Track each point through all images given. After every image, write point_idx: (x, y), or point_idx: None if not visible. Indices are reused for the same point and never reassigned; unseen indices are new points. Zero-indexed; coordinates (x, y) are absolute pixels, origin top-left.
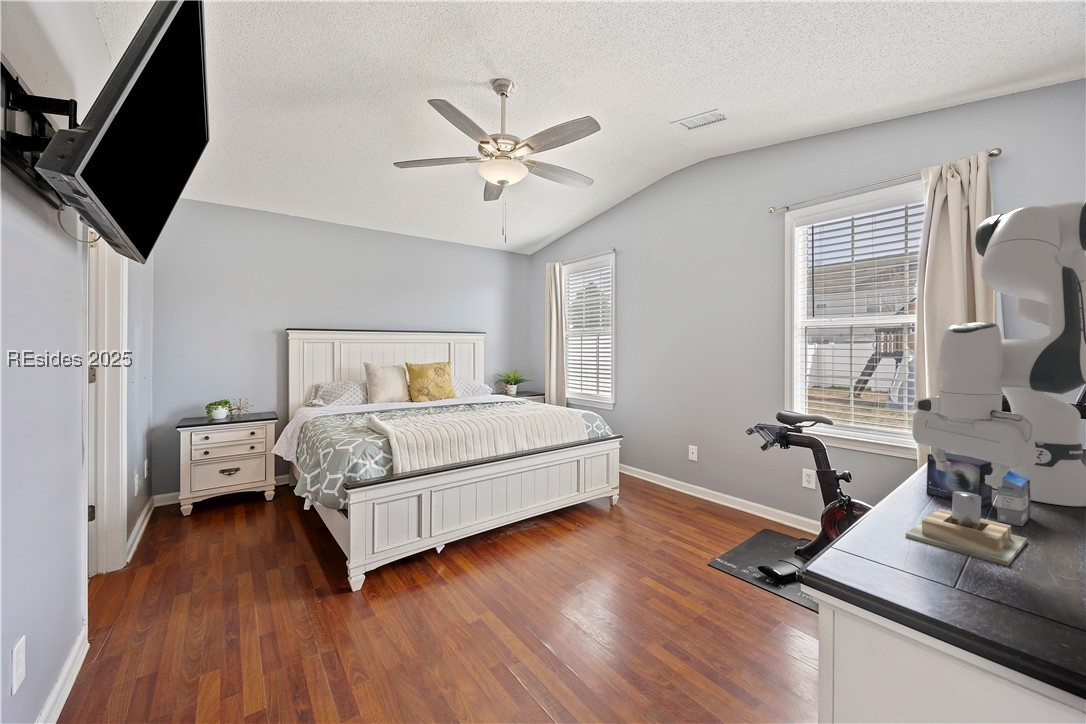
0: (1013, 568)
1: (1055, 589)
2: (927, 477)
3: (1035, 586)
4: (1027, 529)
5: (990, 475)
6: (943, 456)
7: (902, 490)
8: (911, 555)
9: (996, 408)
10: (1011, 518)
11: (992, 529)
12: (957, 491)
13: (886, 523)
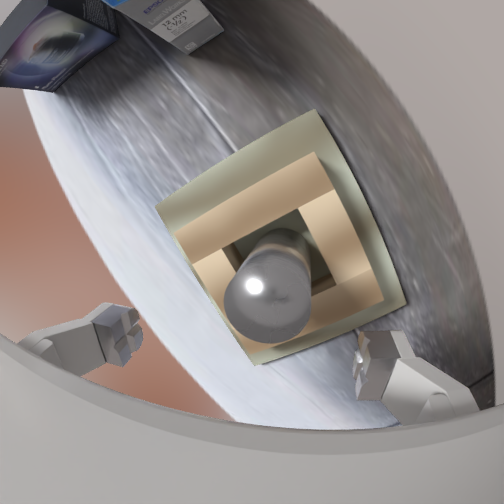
0: (411, 297)
1: (467, 306)
2: (26, 88)
3: (452, 326)
4: (239, 33)
5: (385, 405)
6: (69, 338)
7: (36, 127)
8: (324, 406)
9: None
10: (203, 36)
11: (333, 243)
12: (224, 300)
13: (186, 334)
